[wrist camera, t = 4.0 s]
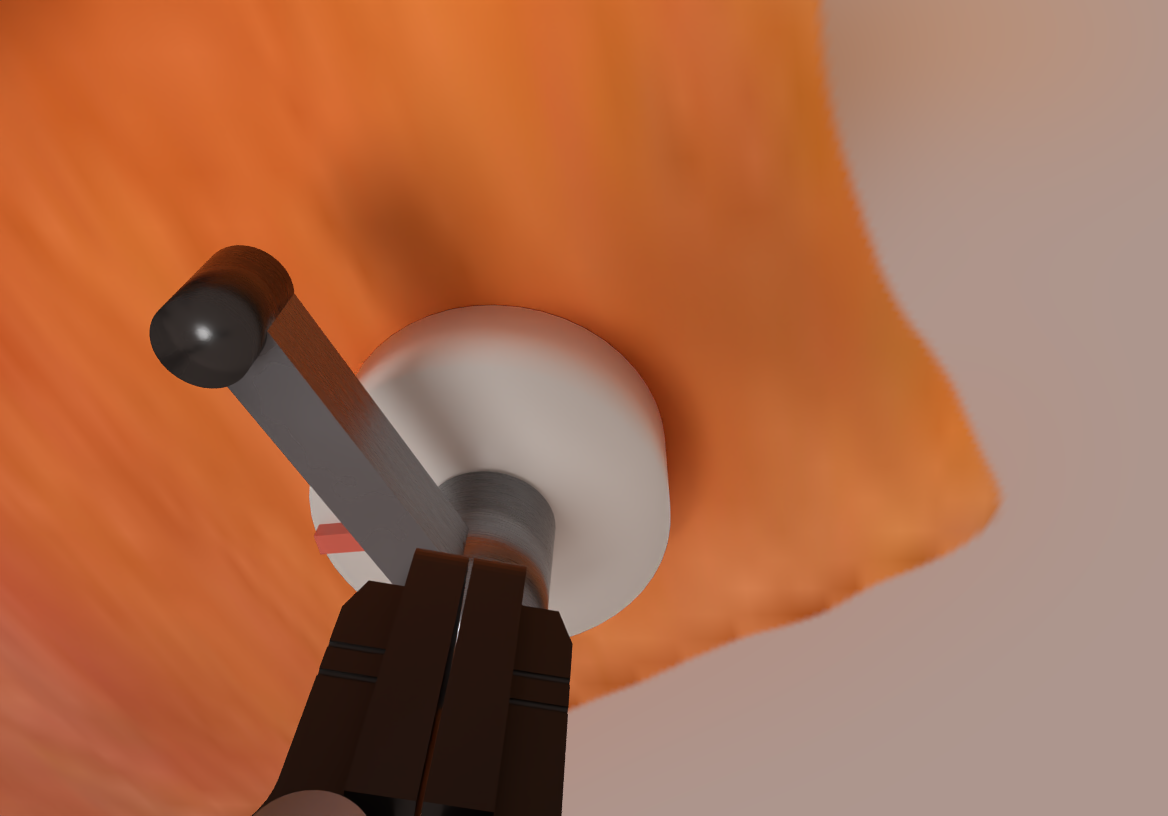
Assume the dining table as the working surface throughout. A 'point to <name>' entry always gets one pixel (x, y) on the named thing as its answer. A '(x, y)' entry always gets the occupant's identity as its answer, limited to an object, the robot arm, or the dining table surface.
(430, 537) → the capstan lever
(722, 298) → the dining table surface
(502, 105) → the dining table surface
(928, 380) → the dining table surface
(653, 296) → the dining table surface
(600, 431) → the stand
